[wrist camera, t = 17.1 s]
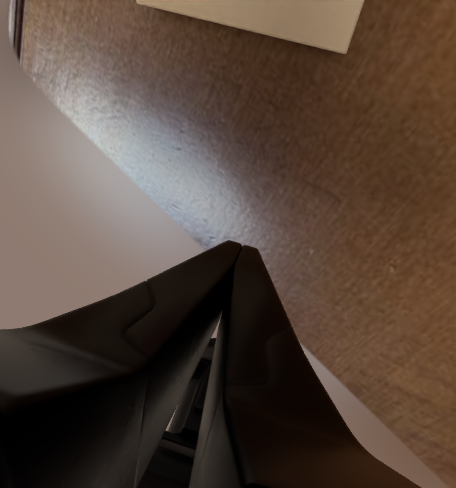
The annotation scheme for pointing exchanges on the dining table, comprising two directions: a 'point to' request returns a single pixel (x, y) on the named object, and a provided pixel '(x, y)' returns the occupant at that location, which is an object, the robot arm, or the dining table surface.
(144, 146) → the dining table surface
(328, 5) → the button box
